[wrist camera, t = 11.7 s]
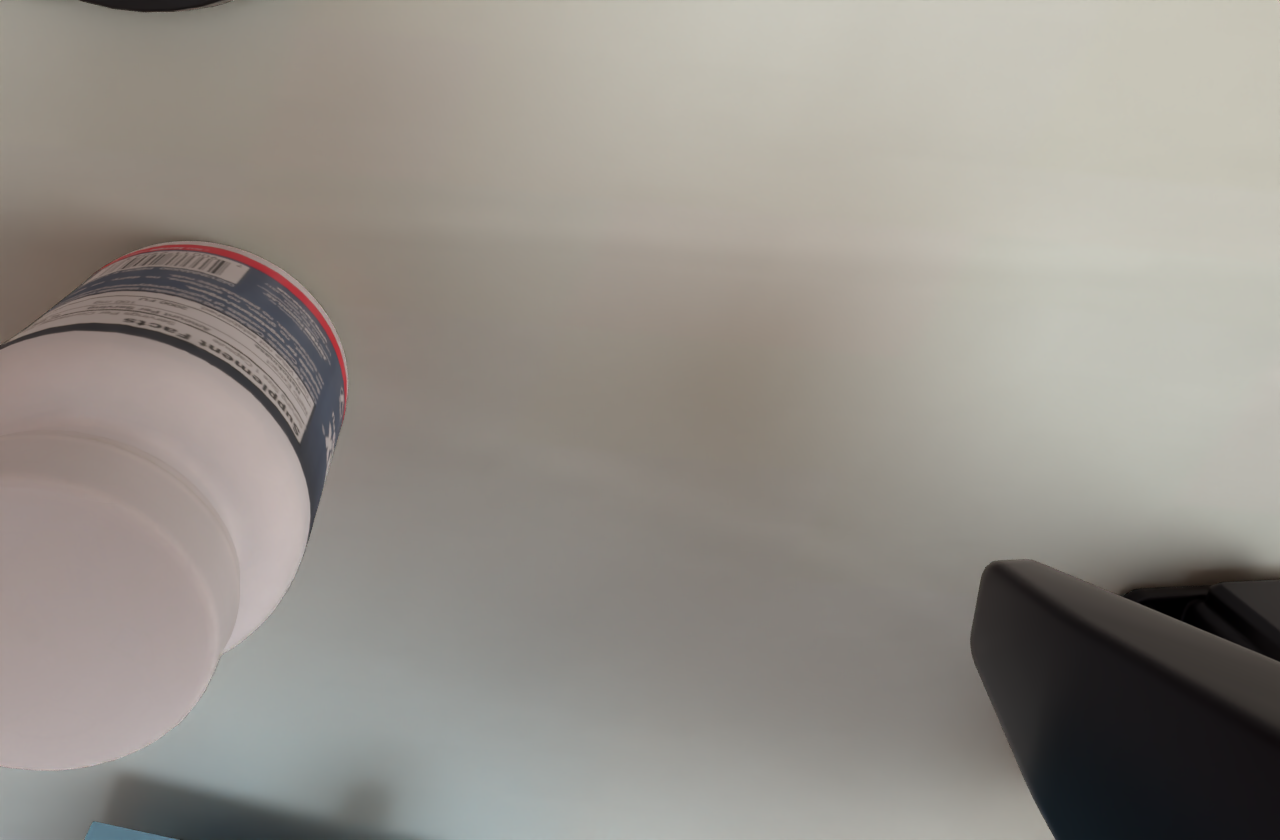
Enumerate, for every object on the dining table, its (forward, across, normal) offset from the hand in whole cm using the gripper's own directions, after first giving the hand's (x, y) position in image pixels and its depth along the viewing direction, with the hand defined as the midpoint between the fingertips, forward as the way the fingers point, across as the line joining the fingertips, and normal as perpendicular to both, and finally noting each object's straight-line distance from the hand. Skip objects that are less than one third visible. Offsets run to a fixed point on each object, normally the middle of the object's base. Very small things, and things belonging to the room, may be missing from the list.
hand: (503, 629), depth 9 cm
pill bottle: (+12, +5, +2) cm, 13 cm away
